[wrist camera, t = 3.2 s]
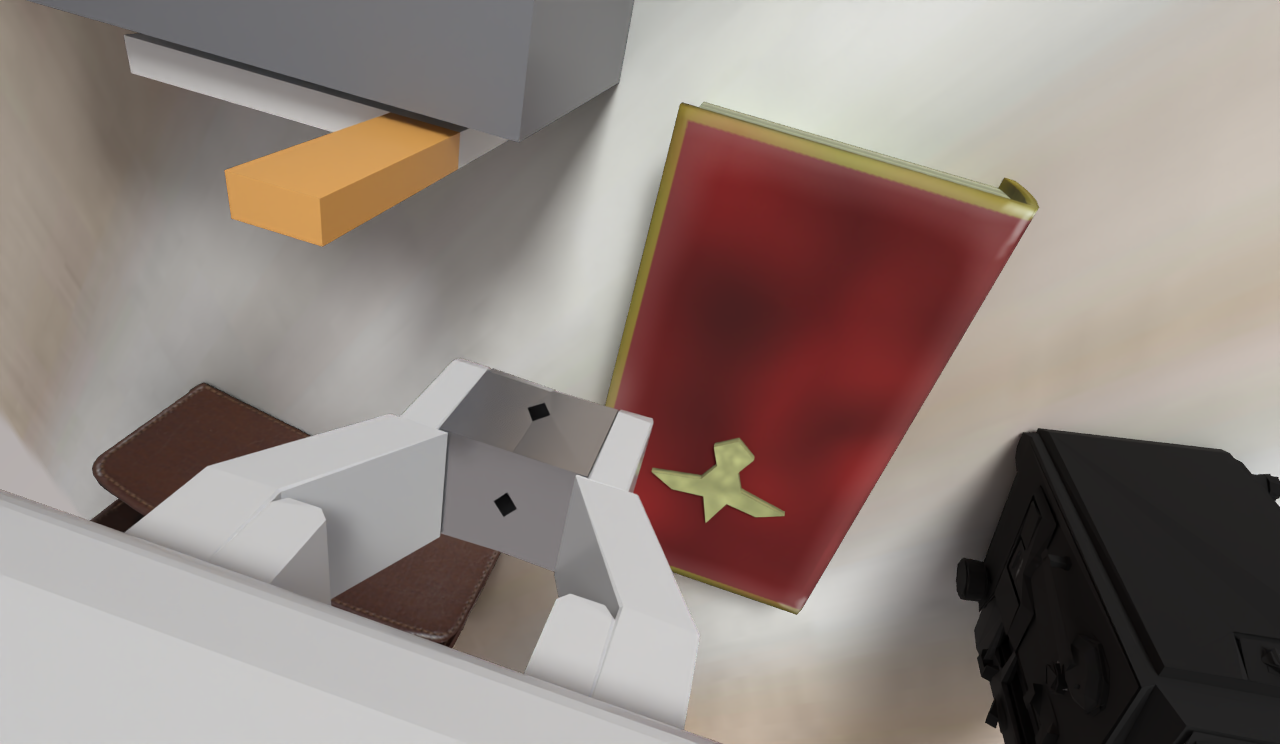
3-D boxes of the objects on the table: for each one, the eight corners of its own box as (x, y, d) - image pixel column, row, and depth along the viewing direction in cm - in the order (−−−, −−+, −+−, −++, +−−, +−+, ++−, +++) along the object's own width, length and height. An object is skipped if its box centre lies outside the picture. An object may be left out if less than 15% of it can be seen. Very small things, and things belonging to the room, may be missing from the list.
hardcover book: (1016, 178, 24) (1051, 215, 20) (806, 557, 35) (805, 622, 32) (698, 85, 25) (678, 105, 21) (594, 485, 36) (570, 541, 33)
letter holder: (468, 618, 45) (344, 851, 33) (198, 485, 44) (-27, 675, 32) (512, 531, 39) (383, 773, 28) (205, 376, 38) (-65, 558, 27)
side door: (307, 15, 25) (-135, 61, 13) (557, 86, 24) (319, 198, 13) (309, 44, 26) (-115, 112, 14) (554, 114, 25) (322, 246, 13)
